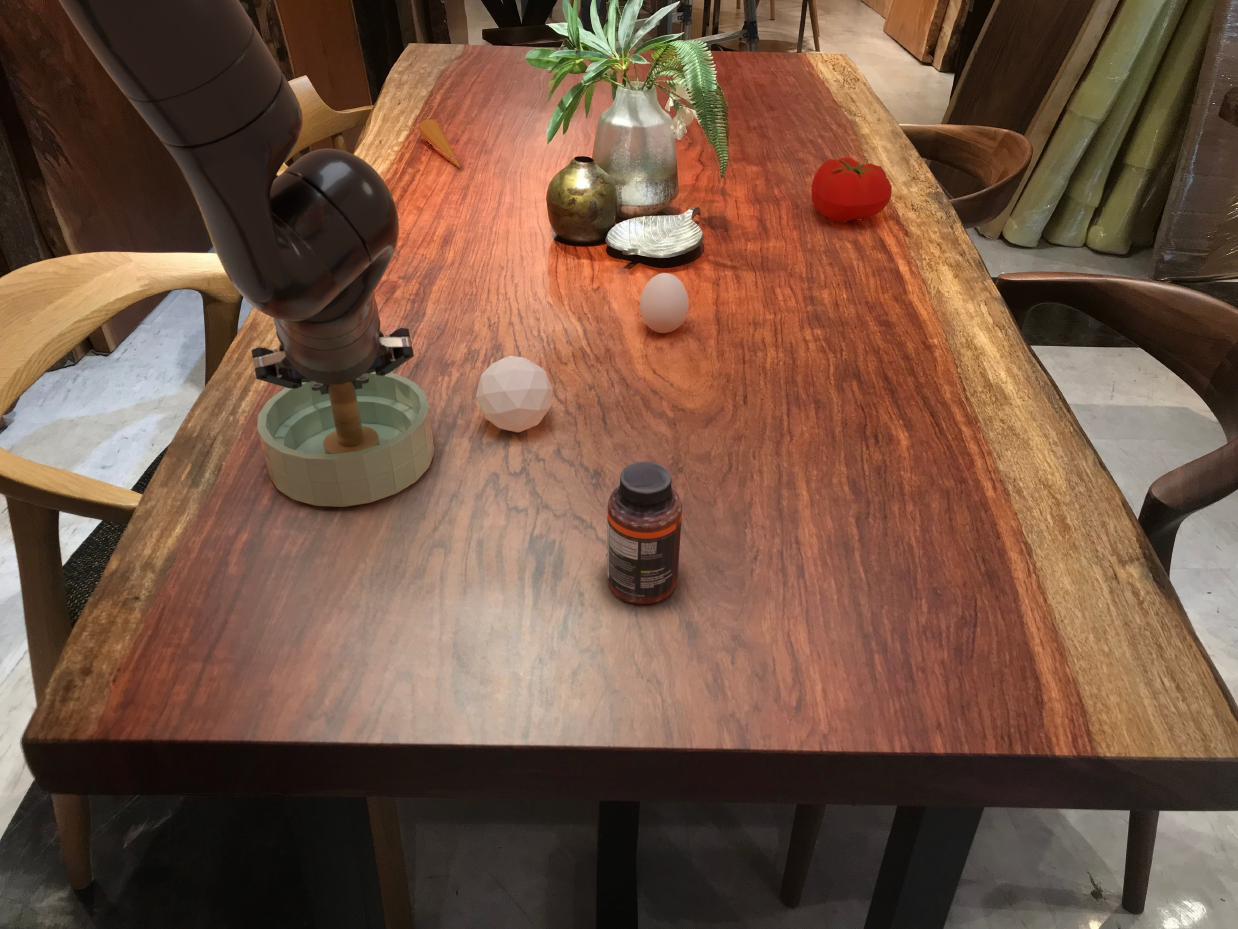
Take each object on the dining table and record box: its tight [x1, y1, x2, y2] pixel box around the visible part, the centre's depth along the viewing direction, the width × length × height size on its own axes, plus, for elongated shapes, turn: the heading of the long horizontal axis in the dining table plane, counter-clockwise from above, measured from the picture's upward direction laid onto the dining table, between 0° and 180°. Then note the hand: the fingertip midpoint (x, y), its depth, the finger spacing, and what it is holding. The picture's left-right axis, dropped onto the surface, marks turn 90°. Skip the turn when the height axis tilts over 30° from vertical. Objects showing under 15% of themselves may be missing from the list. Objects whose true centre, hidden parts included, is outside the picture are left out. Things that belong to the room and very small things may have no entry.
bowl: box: [256, 372, 435, 508], centre depth 86 cm, size 16×16×6 cm
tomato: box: [810, 157, 893, 223], centre depth 143 cm, size 14×13×9 cm
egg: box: [639, 272, 690, 334], centre depth 110 cm, size 6×6×8 cm
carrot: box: [418, 118, 461, 169], centre depth 166 cm, size 20×4×4 cm, turn 26°
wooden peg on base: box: [323, 380, 380, 454], centre depth 84 cm, size 5×5×12 cm
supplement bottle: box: [606, 461, 683, 605], centre depth 72 cm, size 6×6×11 cm
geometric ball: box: [475, 355, 554, 433], centre depth 92 cm, size 8×8×8 cm
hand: (339, 381), depth 85 cm, fingers closed
